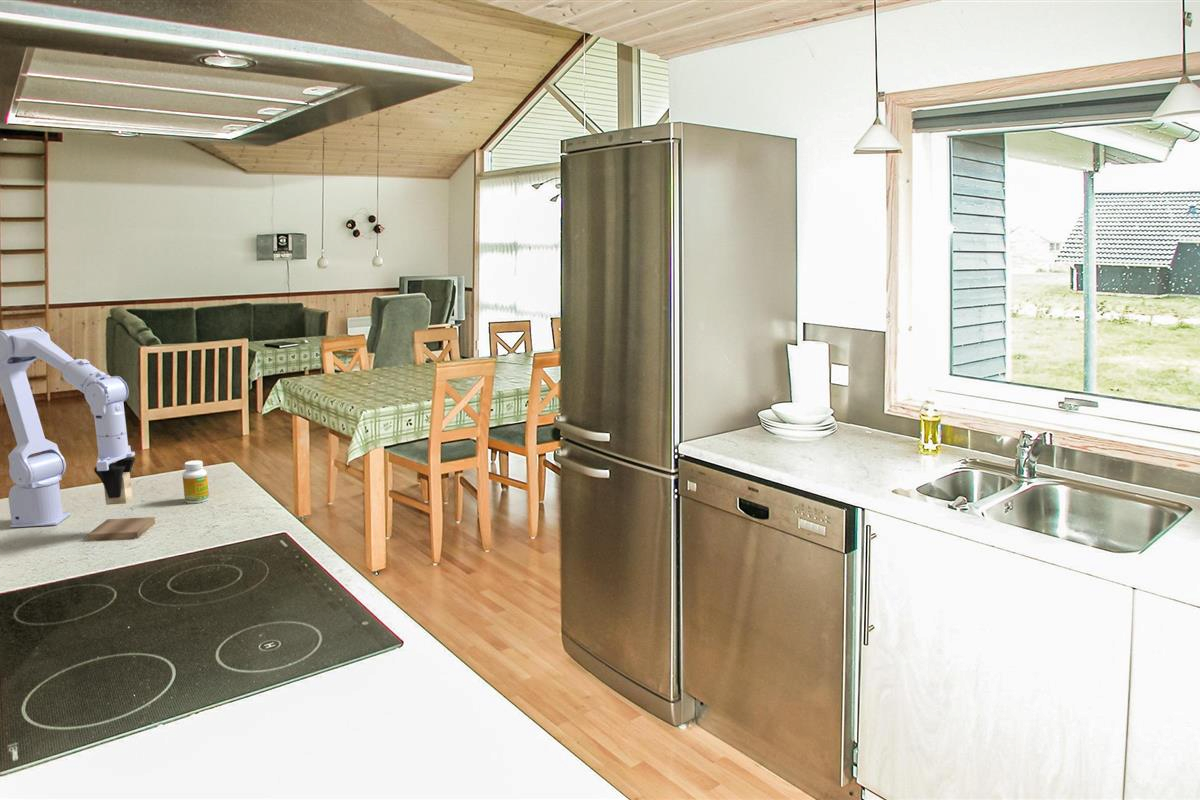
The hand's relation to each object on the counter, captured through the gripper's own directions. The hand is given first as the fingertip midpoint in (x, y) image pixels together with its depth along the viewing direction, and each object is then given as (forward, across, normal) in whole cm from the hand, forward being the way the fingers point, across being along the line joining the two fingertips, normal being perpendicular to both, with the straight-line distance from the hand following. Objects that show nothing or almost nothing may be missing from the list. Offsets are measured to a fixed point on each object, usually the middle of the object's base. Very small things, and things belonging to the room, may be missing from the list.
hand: (118, 494), depth 187 cm
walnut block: (+9, 0, 0) cm, 9 cm away
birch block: (+2, 0, 0) cm, 2 cm away
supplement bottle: (+9, +20, -10) cm, 24 cm away
